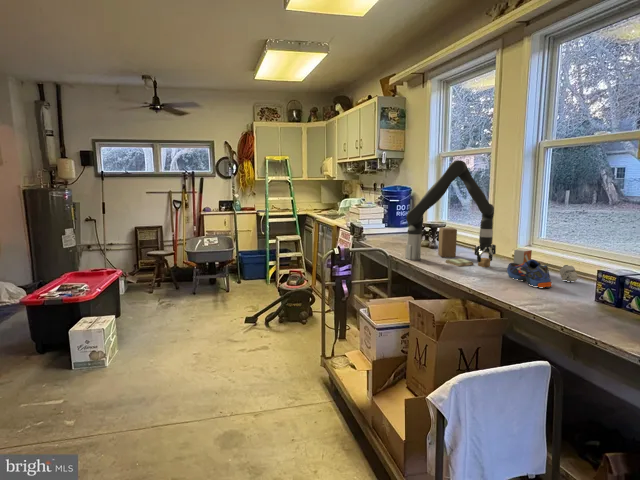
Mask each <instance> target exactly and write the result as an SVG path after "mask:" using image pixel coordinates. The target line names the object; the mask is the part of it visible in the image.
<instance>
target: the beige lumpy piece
mask: <svg viewBox="0 0 640 480" xmlns="http://www.w3.org/2000/svg"><path fill="white" fill-rule="evenodd" d="M575 270H576V268H575V267H574V265H569V264H565V265H562V267H561V268H559V275H560V277H561V281H562V280H567V281H574V282H576V281H578V273H577V272H576V271H575Z"/></svg>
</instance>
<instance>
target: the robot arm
mask: <svg viewBox="0 0 640 480" xmlns="http://www.w3.org/2000/svg"><path fill="white" fill-rule="evenodd" d="M457 178H459V179H460V180H461V181H462V183H463V184H464V186H465V188H466V190H467V192H468V195H469V196H470V197H471V199H472V200H473V201H474V202H475V204H476V207H477V208H478V209H479V212H480V213H481V220H480V225H479V226H480V229H479V235H478V236H479V237H478V238H479V240H478V243H479V245H475V246H474V253H473V254H474V256H476V261H477V263H478V262H481V258H482V255H483V254H484V253H488V259H490V262H492V261H493V256H494V255H496V252H497V251H496V249H497V246H496V244H493V238H494V237H493V235H494V231H493V228H494V227H493V226H494V222H493V221H494V214H495V207H494V205H493V204H492V203H490V202H489V201H488V199H487V197H486V194H485V193H484V192H483V190H482V189H481V188H480V187H479V185H478V183H477V182H476V181H475V179H474V177H473V176H472V173H470V169H469V168H468V165H467V164H466V162H465V161H463V160H459V159H458V160H454V161H452V162H451V163H450V165H449V166H448V167H447V168H446V170H445V171H444V173H443V174H442V175H441V176H440V177H439V178H438V180H437V181H435V183H434V184H433V185H431V187H430V188H429V189H428V190H427V191H426V193H425V194H424V196H422V198H421V199H420V201H419V202H418V203H417V204H416V205H415V206H414V207H413V208H412V209H410V210H409V211H408V212H407V214H406V221H407V223H408V224H409V227H408V229H407V237H406V238H407V240H406V244H405V257H404V258H405V259H407V260H409V261H411V260H413V261H417V260H421V253H422V252H421V249H422V233H423V232H422V231H423V227H424V215H425V213H426V212H427V211H428V210H429V209H430V208H432V207H433V206H434V205H435V204H436V203H438V202H439V201H440V199H441V198H442V197H443V196H444V195H445V194H446V193H447V191H448V189H449V187H450V186H451V184H452V183H453V182H454V181H455V180H456V179H457Z"/></svg>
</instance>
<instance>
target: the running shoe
mask: <svg viewBox="0 0 640 480" xmlns="http://www.w3.org/2000/svg"><path fill="white" fill-rule="evenodd" d="M548 267H549V266H547V265H542V264H541V263H540V262H538V261H537V260H535V259H531V260H529V261H527V262H525V263H523V264H521V265H519V264H517V263H514V262H510V263H508V265H507V268H506V271H507V276H508V277H509V278H510V277H511V278H514V279H518V280H523V281H522V282H526V283H528V284H530V285H533V286H538V287H543V288H542V289H548V287H549V288H552V287H553V286H552V281H551V279H550V278H551V277H550V275H551V274H550V271H549V268H548ZM511 278H510V279H511ZM514 279H513V280H514ZM518 280H517V281H518ZM528 284H527V285H528ZM545 287H547V288H545Z"/></svg>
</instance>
